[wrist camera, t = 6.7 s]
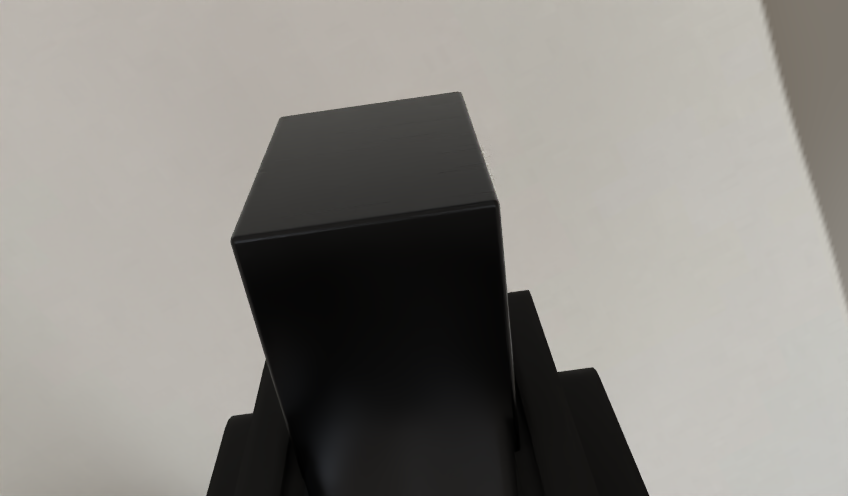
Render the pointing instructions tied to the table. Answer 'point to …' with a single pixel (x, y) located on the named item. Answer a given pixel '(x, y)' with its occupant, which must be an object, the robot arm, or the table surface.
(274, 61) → the table surface
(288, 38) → the table surface
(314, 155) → the table knife
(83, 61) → the table surface
